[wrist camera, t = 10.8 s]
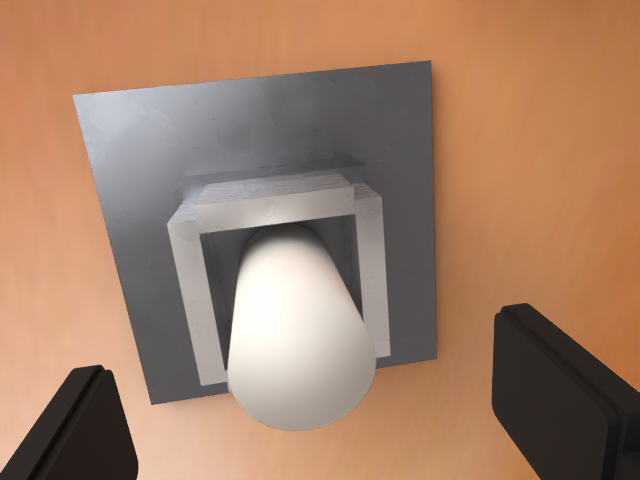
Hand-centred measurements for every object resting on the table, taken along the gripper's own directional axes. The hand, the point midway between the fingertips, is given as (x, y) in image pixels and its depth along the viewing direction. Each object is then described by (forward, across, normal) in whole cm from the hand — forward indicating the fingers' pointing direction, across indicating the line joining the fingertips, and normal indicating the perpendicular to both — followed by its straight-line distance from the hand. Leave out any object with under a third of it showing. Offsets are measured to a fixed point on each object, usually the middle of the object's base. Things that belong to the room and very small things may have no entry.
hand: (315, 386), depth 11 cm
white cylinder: (+9, 0, 0) cm, 9 cm away
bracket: (+13, 0, 0) cm, 13 cm away
